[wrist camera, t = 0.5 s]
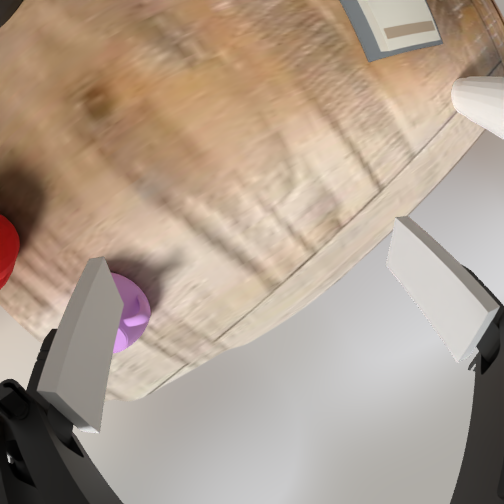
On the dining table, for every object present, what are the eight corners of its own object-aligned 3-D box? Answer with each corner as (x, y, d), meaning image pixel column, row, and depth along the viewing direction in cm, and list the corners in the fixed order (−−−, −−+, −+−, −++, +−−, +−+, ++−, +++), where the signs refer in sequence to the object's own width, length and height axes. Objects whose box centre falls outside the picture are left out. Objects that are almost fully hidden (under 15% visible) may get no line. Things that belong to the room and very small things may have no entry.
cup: (488, 100, 34) (553, 123, 21) (462, 141, 38) (529, 173, 25) (460, 51, 29) (533, 62, 16) (431, 92, 34) (509, 112, 20)
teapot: (51, 291, 43) (30, 333, 34) (132, 247, 41) (115, 293, 32) (96, 339, 51) (85, 381, 42) (177, 308, 49) (174, 356, 40)
